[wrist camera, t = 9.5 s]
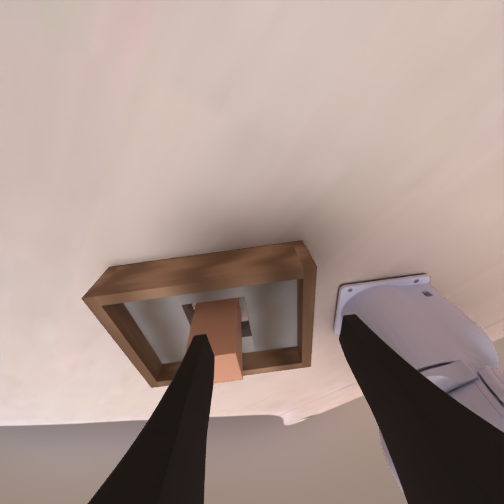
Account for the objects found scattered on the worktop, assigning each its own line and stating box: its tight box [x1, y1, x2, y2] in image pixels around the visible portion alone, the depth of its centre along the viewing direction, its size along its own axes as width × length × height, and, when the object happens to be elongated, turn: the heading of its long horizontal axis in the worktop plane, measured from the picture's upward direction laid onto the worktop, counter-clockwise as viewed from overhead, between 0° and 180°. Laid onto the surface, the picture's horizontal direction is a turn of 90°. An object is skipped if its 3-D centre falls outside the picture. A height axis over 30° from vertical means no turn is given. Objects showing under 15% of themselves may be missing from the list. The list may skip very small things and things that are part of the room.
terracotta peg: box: [185, 298, 243, 384], centre depth 20 cm, size 4×4×7 cm
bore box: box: [82, 241, 317, 388], centre depth 21 cm, size 18×14×4 cm
